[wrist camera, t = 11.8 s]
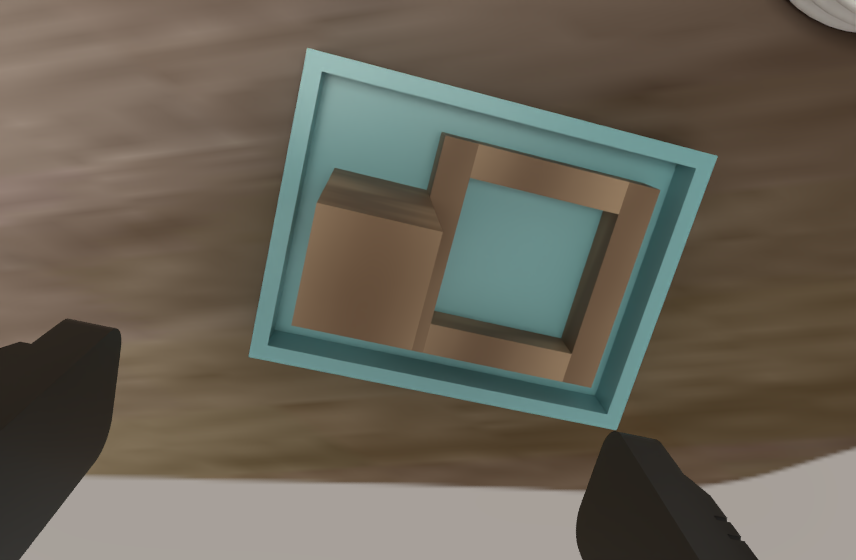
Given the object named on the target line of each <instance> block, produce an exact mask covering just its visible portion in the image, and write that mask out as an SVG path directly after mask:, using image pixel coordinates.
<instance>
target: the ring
mask: <svg viewBox="0 0 856 560" xmlns="http://www.w3.org/2000/svg"><path fill="white" fill-rule="evenodd" d="M470 178H473V179H477V180H481V181H485V182H489V183H493V184H497V185H501V186H505V187H509V188H513V189H517V190H521V191H525V192H529V193H534V194H538V195H542V196H546V197H550V198H554V199H558V200H562V201H566V202H570V203H574V204H578V205H582V206H586V207H590V208H594V209H599V210H603V213H602V216H601V219H600V222H599V225H598V228H597V231H596V234H595V237H594V240H593V243H592V246H591V249H590V252H589V255H588V258H587V261H586V264H585V267H584V270H583V273H582V276H581V279H580V282H579V285H578V288H577V292H576V295H575V298H574V301H573V304H572V307H571V310H570V313H569V316H568V319H567V322H566V325H565V328H564V331H563V334H562V337H561V338H557V337H552V336H548V335H543V334H539V333H534V332H529V331H525V330H520V329H516V328H511V327H506V326H502V325H497V324H493V323H488V322H483V321H479V320H474V319H470V318H465V317H460V316H456V315H451V314H446V313H442V312H437V311H434V310H435V306H436V302H437V298H438V295H439V291H440V287H441V284H442V280H443V276H444V272H445V269H446V265H447V261H448V258H449V254H450V250H451V246H452V243H453V239H454V235H455V232H456V228H457V224H458V220H459V217H460V213H461V209H462V206H463V202H464V198H465V194H466V191H467V187H468V183H469V180H470ZM659 193H660V190H659V189H657V188H654V187H652V186H650V185H647V184H645V183H641V182H638V181H634V180H630V179H626V178H622V177H618V176H614V175H610V174H606V173H602V172H598V171H594V170H590V169H586V168H582V167H579V166H575V165H571V164H567V163H563V162H559V161H555V160H551V159H547V158H543V157H539V156H535V155H531V154H527V153H523V152H520V151H516V150H512V149H508V148H504V147H500V146H496V145H492V144H488V143H484V142H480V141H476V140H472V139H468V138H464V137H460V136H457V135H453V134H449V133H445V132H441V136H440V140H439V144H438V148H437V152H436V156H435V160H434V164H433V168H432V172H431V176H430V180H429V184H428V188H427V190H425V189H421V188H417V187H413V186H409V185H405V184H400V183H396V182H392V181H388V180H384V179H380V178H376V177H371V176H367V175H363V174H359V173H355V172H351V171H347V170H342V169H338V168H334V170H333V172H332V174H331V176H330V178H329V180H328V182H327V184H326V186H325V188H324V190H323V191H322V193H321V195H320V197H319V199H318V201H317V204H316V208H315V213H314V218H313V223H312V228H311V233H310V237H309V242H308V247H307V252H306V257H305V262H304V266H303V271H302V276H301V281H300V286H299V291H298V295H297V300H296V305H295V310H294V315H293V320H292V324H291V326H296V327H301V328H306V329H310V330H315V331H320V332H325V333H330V334H335V335H339V336H344V337H349V338H354V339H359V340H363V341H368V342H373V343H378V344H383V345H387V346H392V347H397V348H402V349H406V350H411V351H416V352H421V353H426V354H430V355H435V356H440V357H445V358H450V359H454V360H459V361H464V362H469V363H474V364H478V365H483V366H488V367H493V368H498V369H503V370H507V371H512V372H517V373H522V374H527V375H531V376H536V377H541V378H546V379H551V380H555V381H560V382H565V383H570V384H575V385H579V386H584V387H589V388H591V387H592V384H593V381H594V378H595V376H596V373H597V370H598V367H599V364H600V361H601V359H602V356H603V353H604V350H605V347H606V344H607V341H608V339H609V336H610V333H611V330H612V327H613V324H614V321H615V319H616V316H617V313H618V310H619V307H620V304H621V302H622V299H623V296H624V293H625V290H626V287H627V284H628V282H629V279H630V276H631V273H632V270H633V267H634V264H635V262H636V259H637V256H638V253H639V250H640V247H641V245H642V242H643V239H644V236H645V233H646V230H647V227H648V225H649V222H650V219H651V216H652V213H653V210H654V207H655V205H656V202H657V199H658V196H659Z"/></svg>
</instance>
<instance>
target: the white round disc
mask: <svg viewBox="0 0 856 560" xmlns="http://www.w3.org/2000/svg"><path fill="white" fill-rule="evenodd" d="M789 1H790V2H791V3H792V4H793V5H794V6H795V7H797V8H798V9H799V10H801V11H802V12H804V13H805V14H806V15H808V16H809V17H811V18H813V19H815V20H817V21H819V22H821V23H823V24H825V25H828V26H830V27H833V28H837V29H840V30H844V31H848V32H856V0H789Z"/></svg>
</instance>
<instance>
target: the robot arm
mask: <svg viewBox="0 0 856 560" xmlns="http://www.w3.org/2000/svg"><path fill="white" fill-rule="evenodd" d="M120 350H121V334H120V331H119V330H118V329H116V328H111V327H106V326H101V325H96V324H92V323H87V322H82V321H77V320H72V319H65V320H63V321H62V322H60V323H59V324H58V325H56V326H55V327H54V328H52V329H51V330H49V331H48V332H47V333H45V334H44V335H43V336H41V337H40V338H39V339H37V340H36V341H35V342H33V343H32V344H29V343H24V342H18V343H15V344H11V345H8V346H5V347H2V348H0V560H19V559H20V558H21V556H22V555H23V554H24V553H25V552H26V550H27V549H28V548H29V546H30V545H31V544H32V542H33V541H34V540H35V538H36V537H37V536H38V535H39V533H40V532H41V531H42V530H43V528H44V527H45V526H46V524H47V523H48V522H49V521H50V519H51V518H52V517H53V515H54V514H55V513H56V512H57V510H58V509H59V508H60V506H61V505H62V504H63V502H64V501H65V500H66V499H67V497H68V496H69V495H70V493H71V492H72V491H73V490H74V488H75V487H76V486H77V484H78V483H79V482H80V481H81V479H82V478H83V477H84V475H85V474H86V473H87V471H88V470H89V469H90V468H91V466H92V465H93V464H94V462H95V461H96V460H97V458H98V457H99V455H100V453H101V451H102V449H103V447H104V444H105V442H106V439H107V436H108V433H109V430H110V426H111V421H112V414H113V406H114V398H115V390H116V382H117V374H118V366H119V358H120ZM576 538H577V545H578V549H579V552H580V554H581V557H582V559H583V560H758V559H757V557H756V556H755V555H754V553H753V552H752V551H751V549H750V548H749V547H748V545H747V544H746V543H745V541H741V536H740V535H739V533H738V532H737V531H736V529H735V528H734V527H733V525H732V524H731V523H730V522H727V517H726V516H725V515H724V513H723V512H722V511H721V509H720V508H719V507H718V506H717V504H716V503H715V501H714V500H713V499H712V497H711V496H710V495H709V494H707V493H706V492H705V491H704V490H703V489H701V488H700V487H699V486H698V485H697V484H695V483H694V482H693V481H692V480H690V479H689V478H688V477H687V476H686V475H684V474H683V473H682V471H681V470H680V469H679V467H678V466H677V464H676V463H675V462H674V460H673V459H672V457H671V456H670V455H669V453H668V452H667V451H666V449H665V448H664V446H663V445H662V444H661V443H660V441H658V440H655V439H651V438H646V437H641V436H636V435H631V434H626V433H621V432H616V431H614V432H611V433H610V434H609V435H608V436H607V437H606V439H605V441H604V443H603V445H602V448H601V450H600V453H599V456H598V459H597V461H596V464H595V467H594V470H593V472H592V475H591V478H590V481H589V483H588V486H587V489H586V492H585V494H584V497H583V500H582V503H581V505H580V508H579V512H578V517H577V524H576Z"/></svg>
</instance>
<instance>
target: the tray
mask: <svg viewBox="0 0 856 560" xmlns="http://www.w3.org/2000/svg"><path fill="white" fill-rule="evenodd" d="M441 132H445V133H449V134H453V135H457V136H460V137H464V138H468V139H472V140H476V141H480V142H484V143H488V144H492V145H496V146H500V147H504V148H508V149H512V150H516V151H520V152H523V153H527V154H531V155H535V156H539V157H543V158H547V159H551V160H555V161H559V162H563V163H567V164H571V165H575V166H579V167H582V168H586V169H590V170H594V171H598V172H602V173H606V174H610V175H614V176H618V177H622V178H626V179H630V180H634V181H638V182H641V183H645V184H647V185H650V186H652V187H654V188H657V189H659V190H660V193H659V196H658V199H657V202H656V205H655V207H654V210H653V213H652V216H651V219H650V222H649V225H648V227H647V230H646V233H645V236H644V239H643V242H642V245H641V247H640V250H639V253H638V256H637V259H636V262H635V264H634V267H633V270H632V273H631V276H630V279H629V282H628V284H627V287H626V290H625V293H624V296H623V299H622V302H621V304H620V307H619V310H618V313H617V316H616V319H615V321H614V324H613V327H612V330H611V333H610V336H609V339H608V341H607V344H606V347H605V350H604V353H603V356H602V359H601V361H600V364H599V367H598V370H597V373H596V376H595V378H594V381H593V384H592V387H591V388H589V387H584V386H579V385H575V384H570V383H565V382H560V381H555V380H551V379H546V378H541V377H536V376H531V375H527V374H522V373H517V372H512V371H507V370H503V369H498V368H493V367H488V366H483V365H478V364H474V363H469V362H464V361H459V360H454V359H450V358H445V357H440V356H435V355H430V354H426V353H421V352H416V351H411V350H406V349H402V348H397V347H392V346H387V345H383V344H378V343H373V342H368V341H363V340H359V339H354V338H349V337H344V336H339V335H335V334H330V333H325V332H320V331H315V330H310V329H306V328H301V327H296V326H291V324H292V320H293V315H294V310H295V305H296V300H297V295H298V291H299V286H300V281H301V276H302V271H303V266H304V262H305V257H306V252H307V247H308V242H309V237H310V233H311V228H312V223H313V218H314V213H315V208H316V204H317V201H318V199H319V197H320V195H321V193H322V191H323V190H324V188H325V186H326V184H327V182H328V180H329V178H330V176H331V174H332V172H333V170H334V168H338V169H342V170H347V171H351V172H355V173H359V174H363V175H367V176H371V177H376V178H380V179H384V180H388V181H392V182H396V183H400V184H405V185H409V186H413V187H417V188H421V189H425V190H427V188H428V184H429V180H430V176H431V172H432V168H433V164H434V160H435V156H436V152H437V148H438V144H439V140H440V136H441ZM717 157H718V156H716V155H712V154H708V153H704V152H700V151H697V150H693V149H689V148H685V147H681V146H678V145H674V144H670V143H666V142H663V141H659V140H655V139H651V138H647V137H644V136H640V135H636V134H632V133H628V132H625V131H621V130H617V129H613V128H609V127H606V126H602V125H598V124H594V123H590V122H587V121H583V120H579V119H575V118H571V117H568V116H564V115H560V114H556V113H552V112H549V111H545V110H541V109H537V108H534V107H530V106H526V105H522V104H518V103H515V102H511V101H507V100H503V99H499V98H496V97H492V96H488V95H484V94H480V93H477V92H473V91H469V90H465V89H461V88H458V87H454V86H450V85H446V84H442V83H439V82H435V81H431V80H427V79H423V78H420V77H416V76H412V75H408V74H405V73H401V72H397V71H393V70H389V69H386V68H382V67H378V66H374V65H370V64H367V63H363V62H359V61H355V60H351V59H348V58H344V57H340V56H336V55H332V54H329V53H325V52H321V51H317V50H313V49H310V48H307V52H306V57H305V62H304V68H303V73H302V78H301V83H300V89H299V94H298V99H297V104H296V110H295V115H294V120H293V125H292V131H291V136H290V141H289V147H288V152H287V157H286V162H285V168H284V173H283V178H282V183H281V189H280V194H279V199H278V204H277V210H276V215H275V220H274V225H273V231H272V236H271V241H270V247H269V252H268V257H267V262H266V268H265V273H264V278H263V283H262V289H261V294H260V299H259V304H258V310H257V315H256V320H255V325H254V331H253V336H252V341H251V346H250V352H249V357H251V358H256V359H261V360H266V361H271V362H276V363H281V364H286V365H291V366H296V367H301V368H306V369H311V370H316V371H321V372H327V373H332V374H337V375H342V376H347V377H352V378H357V379H362V380H367V381H372V382H377V383H382V384H387V385H392V386H397V387H402V388H407V389H412V390H417V391H422V392H427V393H432V394H437V395H442V396H447V397H452V398H457V399H462V400H467V401H472V402H477V403H482V404H487V405H492V406H497V407H502V408H507V409H512V410H517V411H522V412H527V413H532V414H537V415H542V416H547V417H552V418H557V419H562V420H567V421H572V422H577V423H582V424H587V425H592V426H597V427H602V428H607V429H612V430H617V428H618V425H619V422H620V419H621V417H622V414H623V411H624V409H625V406H626V403H627V400H628V398H629V395H630V392H631V390H632V387H633V384H634V381H635V379H636V376H637V373H638V371H639V368H640V365H641V362H642V360H643V357H644V354H645V352H646V349H647V346H648V344H649V341H650V338H651V335H652V333H653V330H654V327H655V325H656V322H657V319H658V316H659V314H660V311H661V308H662V306H663V303H664V300H665V297H666V295H667V292H668V289H669V287H670V284H671V281H672V278H673V276H674V273H675V270H676V268H677V265H678V262H679V260H680V257H681V254H682V251H683V249H684V246H685V243H686V241H687V238H688V235H689V232H690V230H691V227H692V224H693V222H694V219H695V216H696V213H697V211H698V208H699V205H700V203H701V200H702V197H703V195H704V192H705V189H706V186H707V184H708V181H709V178H710V176H711V173H712V170H713V167H714V165H715V162H716V159H717ZM602 213H603V210H599V209H594V208H590V207H586V206H582V205H578V204H574V203H570V202H566V201H562V200H558V199H554V198H550V197H546V196H542V195H538V194H534V193H529V192H525V191H521V190H517V189H513V188H509V187H505V186H501V185H497V184H493V183H489V182H485V181H481V180H477V179H473V178H470V180H469V183H468V187H467V191H466V194H465V198H464V202H463V206H462V209H461V213H460V217H459V220H458V224H457V228H456V232H455V235H454V239H453V243H452V246H451V250H450V254H449V258H448V261H447V265H446V269H445V272H444V276H443V280H442V284H441V287H440V291H439V295H438V298H437V302H436V306H435V310H434V311H437V312H442V313H446V314H451V315H456V316H460V317H465V318H470V319H474V320H479V321H483V322H488V323H493V324H497V325H502V326H506V327H511V328H516V329H520V330H525V331H529V332H534V333H539V334H543V335H548V336H552V337H557V338H561V337H562V334H563V331H564V328H565V325H566V322H567V319H568V316H569V313H570V310H571V307H572V304H573V301H574V298H575V295H576V292H577V288H578V285H579V282H580V279H581V276H582V273H583V270H584V267H585V264H586V261H587V258H588V255H589V252H590V249H591V246H592V243H593V240H594V237H595V234H596V231H597V228H598V225H599V222H600V219H601V216H602Z"/></svg>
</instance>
